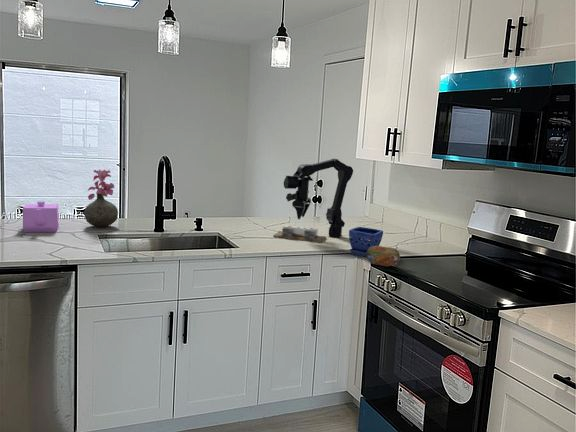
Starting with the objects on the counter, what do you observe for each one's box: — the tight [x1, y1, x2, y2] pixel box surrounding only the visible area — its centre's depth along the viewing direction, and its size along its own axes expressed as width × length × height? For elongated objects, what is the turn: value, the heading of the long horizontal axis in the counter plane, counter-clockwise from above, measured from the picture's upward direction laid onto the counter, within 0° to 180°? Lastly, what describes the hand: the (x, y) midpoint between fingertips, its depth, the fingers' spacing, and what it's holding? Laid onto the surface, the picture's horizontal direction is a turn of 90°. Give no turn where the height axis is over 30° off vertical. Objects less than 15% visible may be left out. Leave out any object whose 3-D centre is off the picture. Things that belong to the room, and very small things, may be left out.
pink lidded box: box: [22, 200, 60, 233], centre depth 267 cm, size 15×25×14 cm, turn 20°
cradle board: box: [272, 225, 327, 243], centre depth 288 cm, size 26×12×5 cm, turn 76°
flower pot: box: [348, 226, 384, 257], centre depth 258 cm, size 13×13×12 cm
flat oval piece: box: [365, 245, 401, 268], centre depth 240 cm, size 15×3×8 cm, turn 62°
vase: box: [84, 169, 119, 229], centre depth 281 cm, size 17×17×30 cm
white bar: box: [282, 224, 319, 236], centre depth 287 cm, size 18×4×3 cm, turn 76°
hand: (300, 217), depth 286 cm, fingers open, 9 cm apart
